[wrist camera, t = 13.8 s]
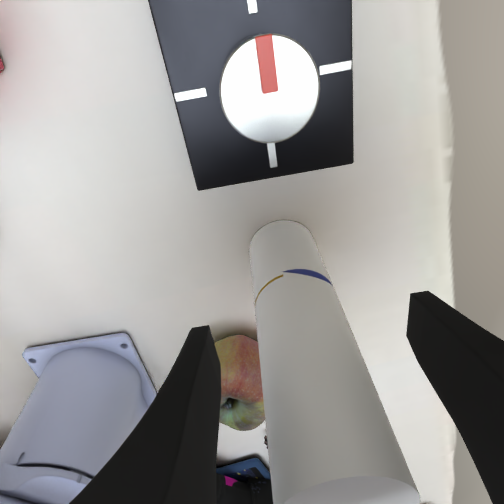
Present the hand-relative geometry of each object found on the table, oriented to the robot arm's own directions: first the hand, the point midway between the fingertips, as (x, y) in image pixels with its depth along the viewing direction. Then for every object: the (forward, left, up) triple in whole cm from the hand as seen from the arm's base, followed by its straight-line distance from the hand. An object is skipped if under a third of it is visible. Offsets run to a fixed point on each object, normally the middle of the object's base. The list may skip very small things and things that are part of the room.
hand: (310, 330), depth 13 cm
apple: (-12, +4, -11) cm, 16 cm away
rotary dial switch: (+7, 0, -10) cm, 13 cm away
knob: (+7, 0, -8) cm, 11 cm away
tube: (-3, 0, -11) cm, 11 cm away
